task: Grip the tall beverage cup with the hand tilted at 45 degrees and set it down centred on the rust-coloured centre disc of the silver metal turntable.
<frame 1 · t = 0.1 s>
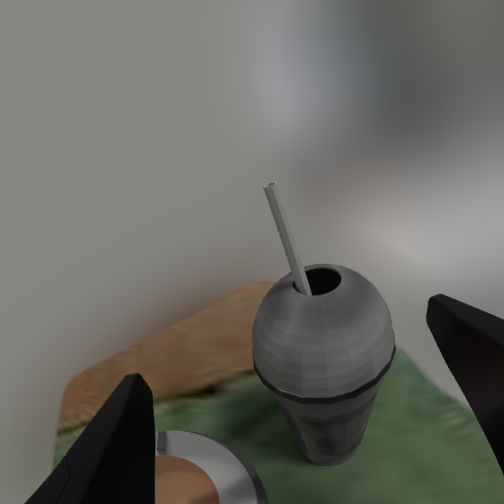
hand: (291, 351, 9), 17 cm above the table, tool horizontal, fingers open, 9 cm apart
beverage cup: (330, 441, 21), on the table
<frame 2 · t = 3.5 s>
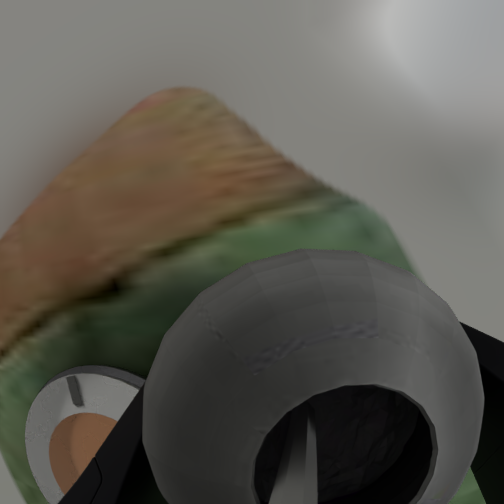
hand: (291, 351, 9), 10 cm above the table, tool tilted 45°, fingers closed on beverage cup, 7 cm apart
beverage cup: (288, 371, 18), on the table, touching gripper
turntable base: (115, 469, 16), on the table
turntable: (106, 475, 15), point 1 cm above the table, hinge at 0.0°
when the fingers open (12 cm above the table, at t = 7.6 s): beverage cup stays where it is, resting on turntable.
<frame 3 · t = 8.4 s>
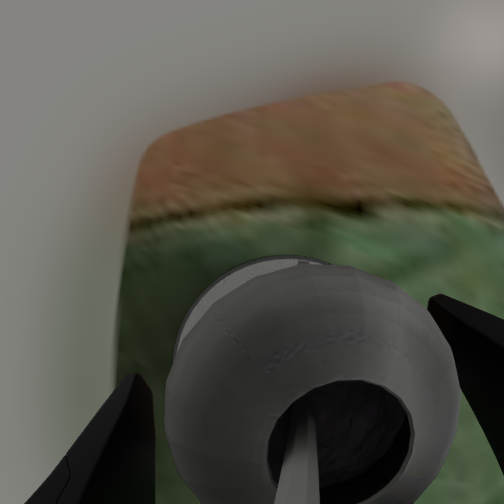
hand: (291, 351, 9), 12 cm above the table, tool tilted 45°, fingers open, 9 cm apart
beverage cup: (287, 370, 18), point 2 cm above the table, touching turntable
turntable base: (286, 367, 20), on the table
turntable: (287, 369, 19), point 1 cm above the table, hinge at 0.0°, touching beverage cup
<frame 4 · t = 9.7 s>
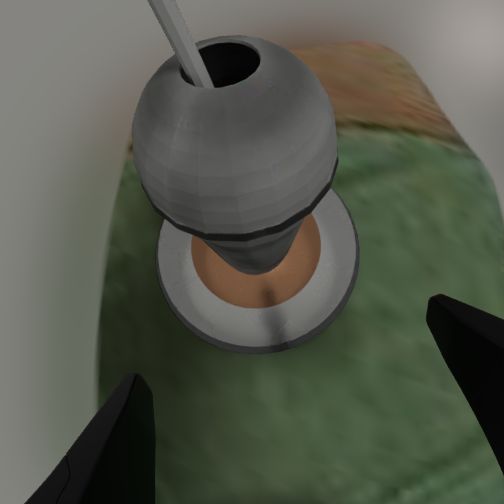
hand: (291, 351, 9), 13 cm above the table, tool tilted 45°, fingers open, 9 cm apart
beverage cup: (255, 243, 22), point 2 cm above the table, touching turntable
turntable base: (256, 250, 24), on the table
turntable: (255, 244, 22), point 1 cm above the table, hinge at 0.0°, touching beverage cup
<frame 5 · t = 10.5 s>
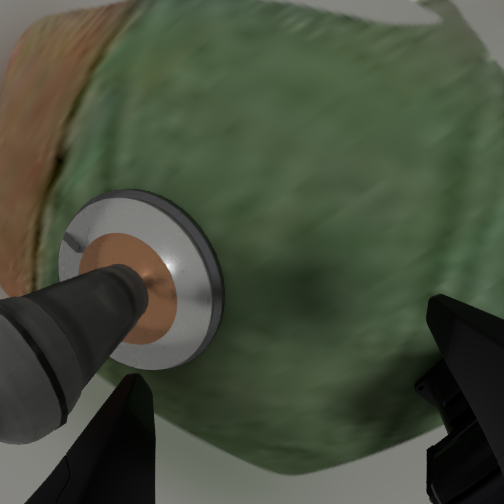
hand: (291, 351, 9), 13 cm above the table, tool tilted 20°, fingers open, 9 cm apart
beverage cup: (124, 291, 23), point 2 cm above the table, touching turntable
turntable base: (134, 284, 24), on the table
turntable: (125, 290, 23), point 1 cm above the table, hinge at 0.0°, touching beverage cup
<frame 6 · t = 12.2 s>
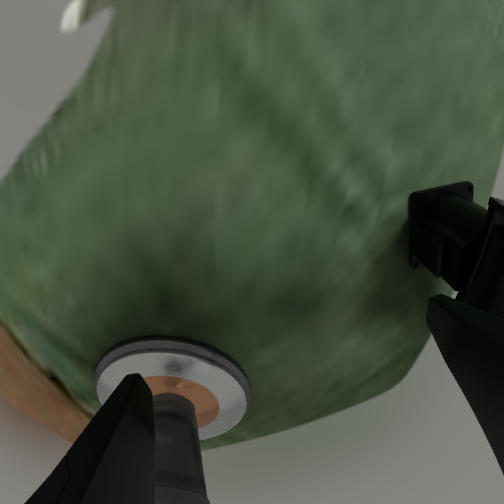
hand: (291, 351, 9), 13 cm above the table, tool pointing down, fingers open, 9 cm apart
beverage cup: (170, 405, 26), point 2 cm above the table, touching turntable
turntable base: (171, 392, 28), on the table
turntable: (170, 403, 26), point 1 cm above the table, hinge at 0.0°, touching beverage cup
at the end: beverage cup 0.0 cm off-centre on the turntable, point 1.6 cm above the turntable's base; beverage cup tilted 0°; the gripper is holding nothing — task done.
